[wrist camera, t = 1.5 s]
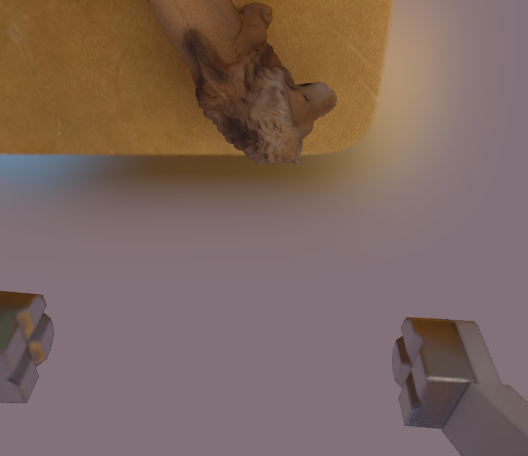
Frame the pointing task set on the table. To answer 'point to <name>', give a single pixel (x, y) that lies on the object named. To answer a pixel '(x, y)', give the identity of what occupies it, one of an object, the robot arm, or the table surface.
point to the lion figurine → (243, 77)
